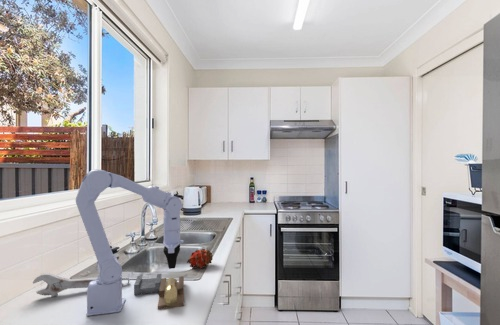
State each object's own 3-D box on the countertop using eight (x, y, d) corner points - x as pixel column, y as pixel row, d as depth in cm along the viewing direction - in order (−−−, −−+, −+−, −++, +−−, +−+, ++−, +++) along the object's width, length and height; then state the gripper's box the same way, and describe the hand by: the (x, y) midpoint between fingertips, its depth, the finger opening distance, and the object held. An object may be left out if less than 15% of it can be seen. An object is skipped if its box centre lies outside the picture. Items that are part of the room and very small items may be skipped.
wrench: (128, 293, 102) (30, 299, 91) (128, 291, 104) (32, 297, 93) (130, 271, 103) (33, 275, 91) (130, 269, 104) (35, 273, 93)
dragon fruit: (215, 268, 122) (189, 278, 116) (208, 253, 127) (183, 261, 122) (217, 257, 117) (190, 266, 111) (210, 241, 122) (183, 249, 117)
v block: (134, 295, 94) (134, 285, 94) (137, 285, 102) (137, 275, 102) (159, 292, 96) (159, 282, 96) (161, 282, 104) (161, 273, 104)
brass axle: (177, 304, 86) (176, 292, 86) (164, 307, 85) (163, 294, 85) (177, 287, 97) (176, 276, 97) (166, 289, 96) (165, 278, 96)
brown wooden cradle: (157, 309, 85) (157, 299, 85) (161, 286, 101) (161, 278, 101) (183, 305, 87) (183, 296, 87) (183, 284, 103) (183, 276, 103)
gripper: (183, 233, 92) (183, 273, 92) (183, 224, 106) (183, 258, 106) (161, 234, 90) (161, 275, 90) (164, 225, 104) (164, 260, 104)
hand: (172, 266), depth 98 cm, fingers closed
